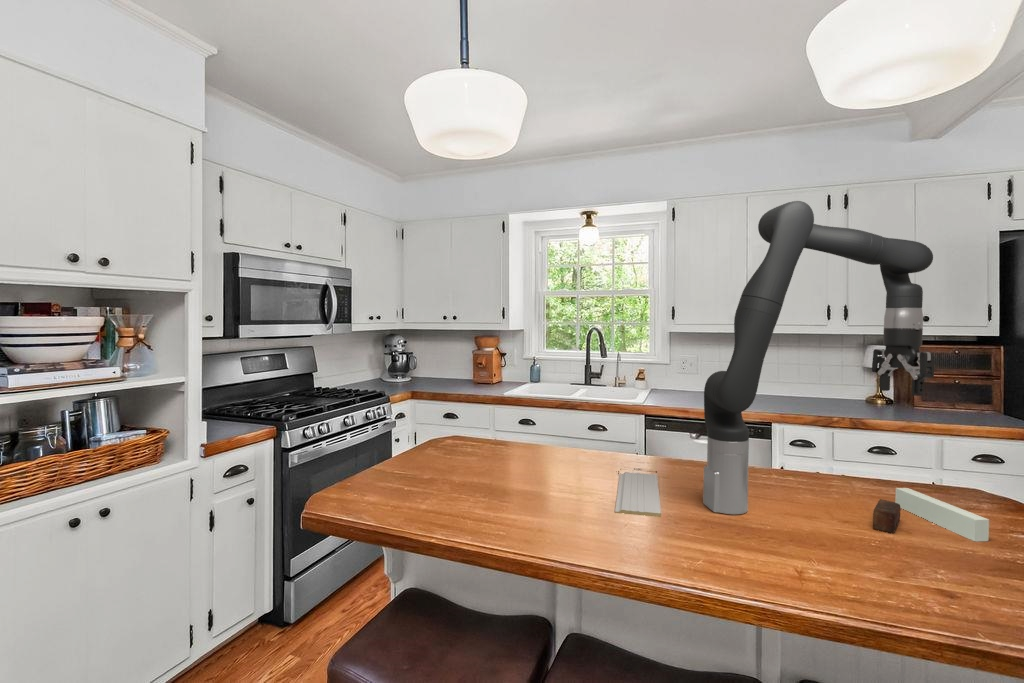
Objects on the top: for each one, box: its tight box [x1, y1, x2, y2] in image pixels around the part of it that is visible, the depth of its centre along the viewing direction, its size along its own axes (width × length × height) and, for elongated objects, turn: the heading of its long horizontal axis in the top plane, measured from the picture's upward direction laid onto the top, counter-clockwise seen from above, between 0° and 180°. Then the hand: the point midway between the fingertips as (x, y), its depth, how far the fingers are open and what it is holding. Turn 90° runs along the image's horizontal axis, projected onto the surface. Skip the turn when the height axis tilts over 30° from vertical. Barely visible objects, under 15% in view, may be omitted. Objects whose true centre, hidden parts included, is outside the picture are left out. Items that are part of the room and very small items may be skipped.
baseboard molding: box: [614, 468, 662, 518], centre depth 133 cm, size 31×3×12 cm
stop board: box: [894, 487, 990, 542], centre depth 113 cm, size 3×20×4 cm, turn 3°
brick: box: [872, 498, 902, 534], centre depth 111 cm, size 11×4×5 cm, turn 137°
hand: (900, 392), depth 123 cm, fingers open, 8 cm apart
